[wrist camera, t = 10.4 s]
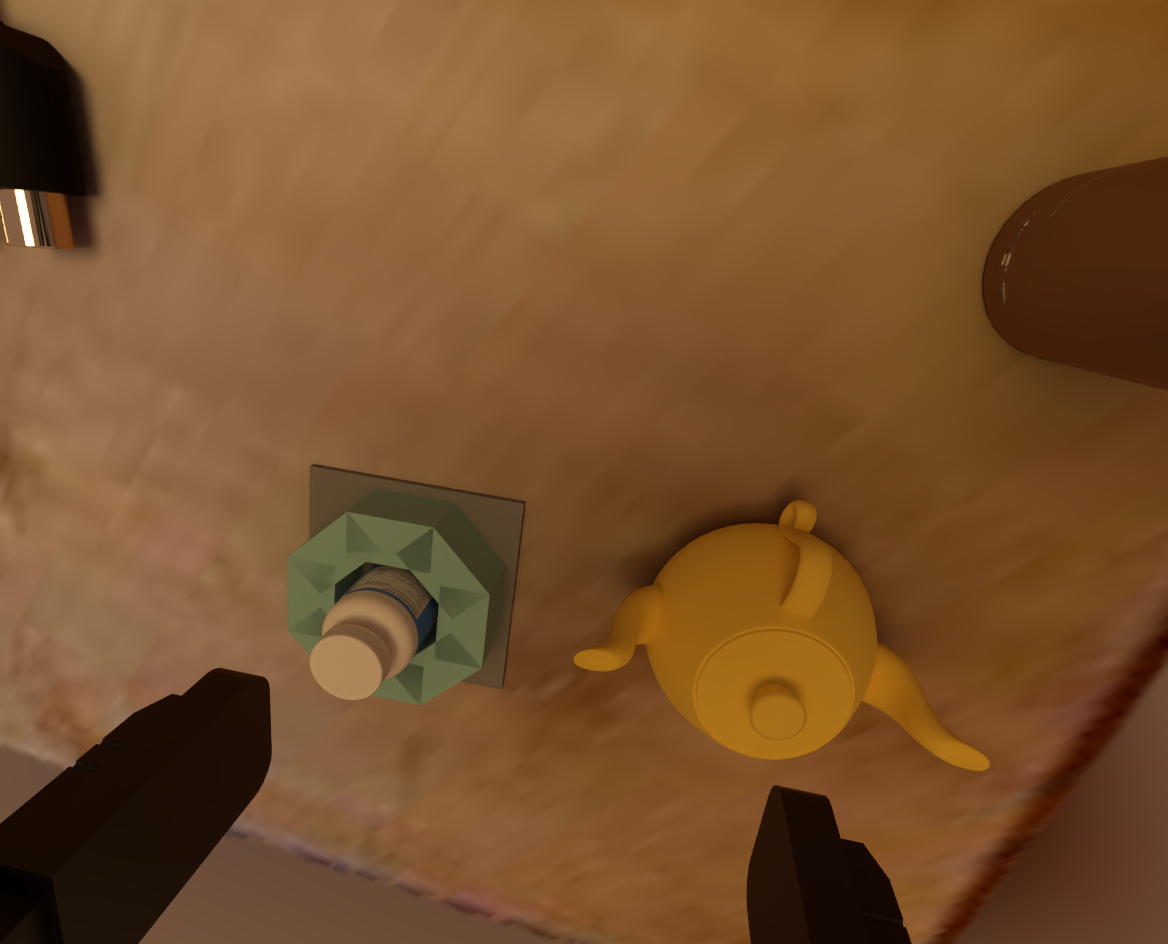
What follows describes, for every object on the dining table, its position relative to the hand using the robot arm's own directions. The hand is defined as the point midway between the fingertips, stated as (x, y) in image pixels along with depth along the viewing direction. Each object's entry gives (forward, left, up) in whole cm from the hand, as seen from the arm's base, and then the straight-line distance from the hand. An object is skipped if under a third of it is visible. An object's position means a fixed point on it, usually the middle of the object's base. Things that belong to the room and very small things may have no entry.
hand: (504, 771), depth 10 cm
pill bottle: (+12, +14, -29) cm, 35 cm away
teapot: (-10, +11, -30) cm, 33 cm away
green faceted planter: (+12, +15, -29) cm, 35 cm away
